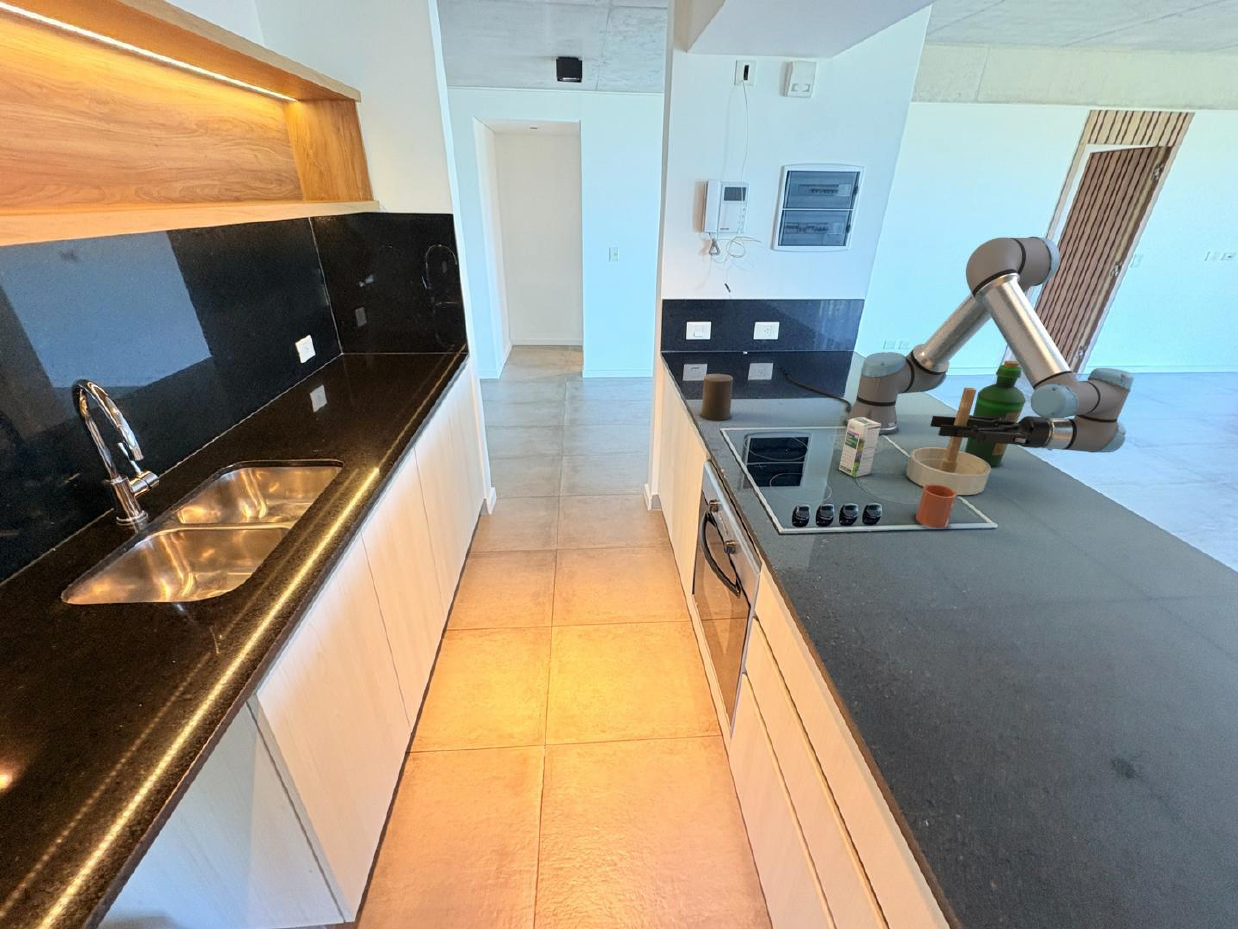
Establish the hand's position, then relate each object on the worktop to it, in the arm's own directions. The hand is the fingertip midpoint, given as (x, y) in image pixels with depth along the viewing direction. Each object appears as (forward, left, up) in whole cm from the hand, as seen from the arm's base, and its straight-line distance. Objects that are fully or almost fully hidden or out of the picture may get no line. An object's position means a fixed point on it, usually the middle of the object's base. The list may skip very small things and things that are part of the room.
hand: (936, 425), depth 131 cm
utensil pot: (+19, -13, -15) cm, 28 cm away
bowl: (+2, +5, -15) cm, 16 cm away
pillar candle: (-58, -34, -15) cm, 69 cm away
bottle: (-7, +25, -15) cm, 30 cm away
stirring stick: (+2, +5, -14) cm, 15 cm away
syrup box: (-8, -14, -15) cm, 22 cm away
